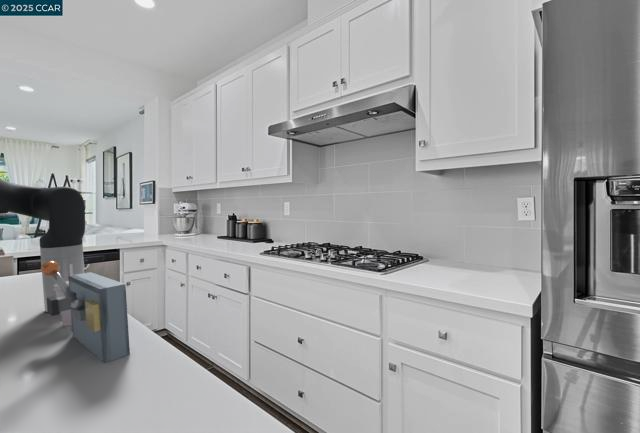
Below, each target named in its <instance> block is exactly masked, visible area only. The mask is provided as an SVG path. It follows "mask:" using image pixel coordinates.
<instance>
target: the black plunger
mask: <svg viewBox="0 0 640 433" xmlns="http://www.w3.org/2000/svg"><path fill="white" fill-rule="evenodd" d="M69 302H70V301H69V300H68V298H67V297H66V296H63V297H58V298H55V297H53V296H52V297H47V310H48V312H47V313H48V314H49V315H50V316H52V317H54V316H55V317H56V316H59V315H60V312H61V311H66V310H70V309H73V308H72V307H70V306H69Z"/></svg>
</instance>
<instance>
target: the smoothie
mask: <svg viewBox="0 0 640 433" xmlns="http://www.w3.org/2000/svg"><path fill="white" fill-rule="evenodd" d="M70 275H73V266H72V264H71V265H70ZM65 282H66V283H67V285H68V286H69V281H65ZM53 287H54V289H53V290H55V291H56V296H57V298H58V297H63V296H65V294H64V293H63V292H62V290H61V289H60V288H59V286H58V285H57V284H55V285H53ZM59 314H60V316H61V320H62V321H61V322H62V324H63V326H65V327H69V326H71V327H72V318H71V309H70V310H66V311H61V312H59Z"/></svg>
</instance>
